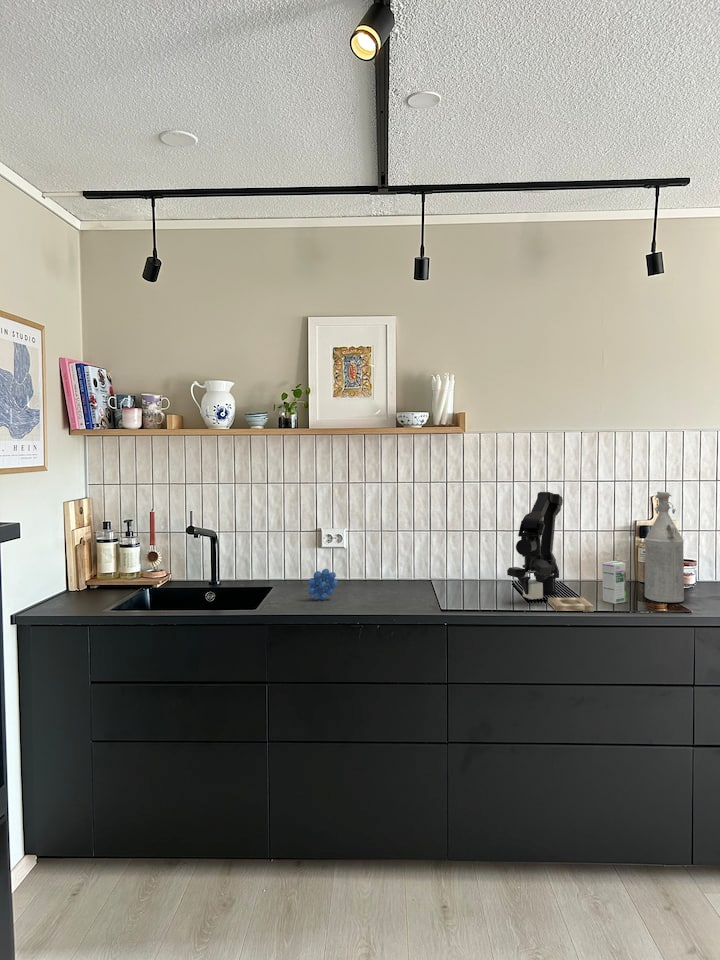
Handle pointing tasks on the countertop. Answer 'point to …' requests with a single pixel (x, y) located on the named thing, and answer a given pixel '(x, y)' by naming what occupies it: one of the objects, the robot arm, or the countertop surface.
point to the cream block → (534, 590)
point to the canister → (664, 557)
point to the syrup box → (614, 582)
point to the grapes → (322, 584)
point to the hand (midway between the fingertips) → (532, 593)
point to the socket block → (571, 604)
